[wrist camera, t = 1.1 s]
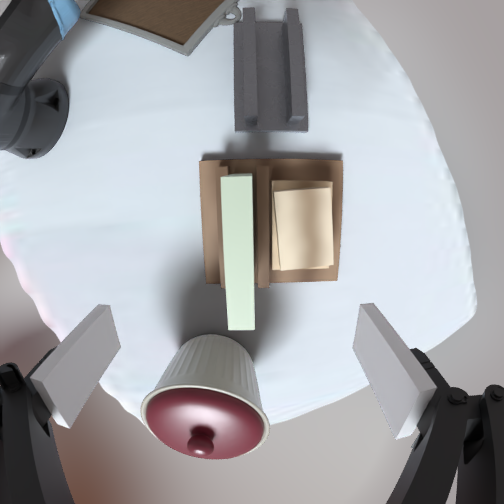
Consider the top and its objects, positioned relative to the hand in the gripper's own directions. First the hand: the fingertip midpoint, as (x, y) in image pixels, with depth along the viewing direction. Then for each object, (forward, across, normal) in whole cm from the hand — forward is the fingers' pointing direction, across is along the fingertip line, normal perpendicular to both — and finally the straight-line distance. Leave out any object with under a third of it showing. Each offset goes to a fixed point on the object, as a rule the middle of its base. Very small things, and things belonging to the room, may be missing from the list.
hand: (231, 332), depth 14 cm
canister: (+29, -6, -24) cm, 38 cm away
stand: (+28, +4, +22) cm, 36 cm away
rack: (+28, +4, 0) cm, 29 cm away
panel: (+27, 0, 0) cm, 27 cm away
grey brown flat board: (+29, -13, +41) cm, 52 cm away
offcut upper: (+24, +8, 0) cm, 25 cm away
